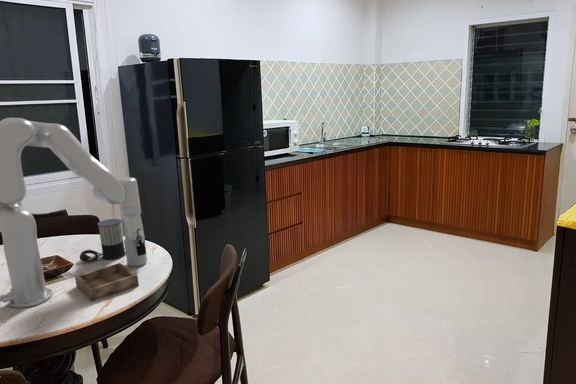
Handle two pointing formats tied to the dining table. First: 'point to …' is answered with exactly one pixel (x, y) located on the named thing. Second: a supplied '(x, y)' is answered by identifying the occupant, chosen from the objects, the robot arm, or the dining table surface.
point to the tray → (106, 281)
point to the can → (133, 253)
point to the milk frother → (108, 241)
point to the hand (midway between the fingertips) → (136, 251)
